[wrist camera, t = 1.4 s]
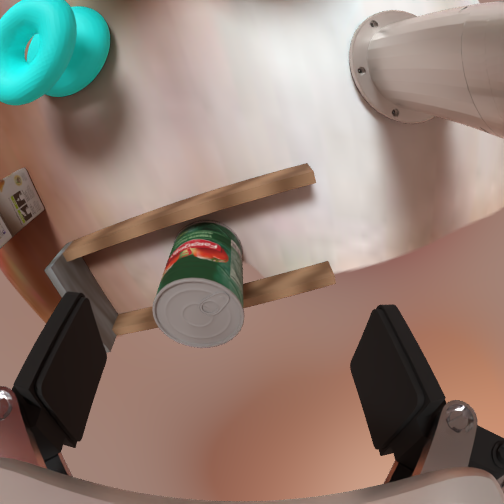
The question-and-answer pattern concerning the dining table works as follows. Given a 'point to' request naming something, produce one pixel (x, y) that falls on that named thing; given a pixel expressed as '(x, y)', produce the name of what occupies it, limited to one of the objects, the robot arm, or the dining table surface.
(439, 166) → the dining table surface
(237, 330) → the canned tomato
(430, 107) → the robot arm
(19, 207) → the coffee box
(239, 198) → the bay
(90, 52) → the donuts
